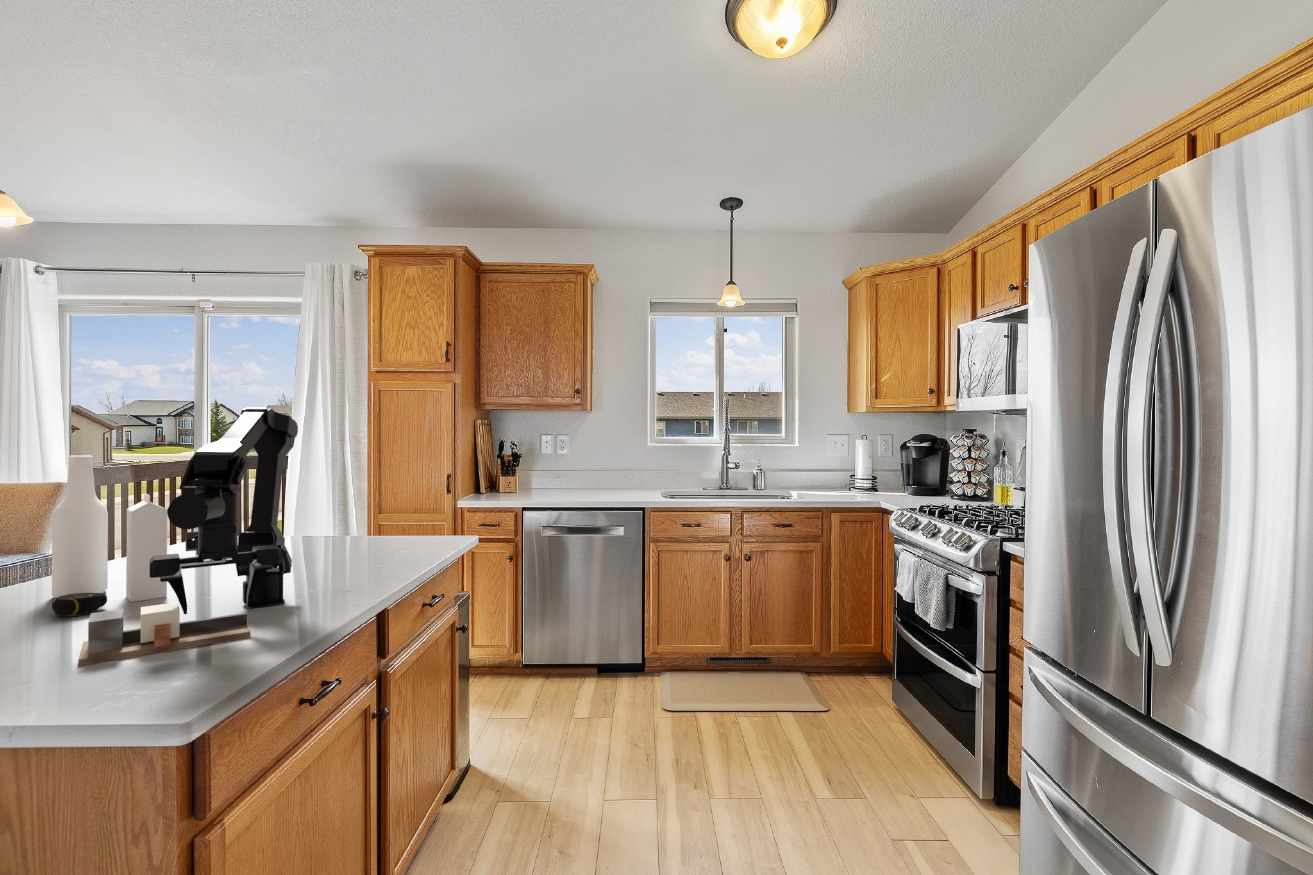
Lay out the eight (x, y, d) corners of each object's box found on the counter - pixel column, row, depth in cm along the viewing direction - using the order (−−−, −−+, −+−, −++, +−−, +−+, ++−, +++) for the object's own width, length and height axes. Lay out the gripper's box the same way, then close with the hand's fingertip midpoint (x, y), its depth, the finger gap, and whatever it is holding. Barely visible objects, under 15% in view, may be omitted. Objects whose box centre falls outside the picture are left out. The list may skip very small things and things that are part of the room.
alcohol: (97, 587, 139) (98, 454, 139) (114, 593, 135) (115, 455, 134) (44, 596, 131) (45, 455, 131) (60, 602, 127) (61, 456, 127)
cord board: (243, 622, 116) (243, 590, 116) (250, 637, 108) (250, 602, 108) (83, 647, 102) (83, 611, 102) (78, 666, 94) (78, 626, 94)
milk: (130, 602, 128) (130, 496, 128) (126, 596, 132) (125, 493, 132) (167, 596, 133) (167, 494, 132) (162, 591, 137) (161, 491, 136)
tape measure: (109, 608, 124) (109, 590, 124) (84, 618, 117) (84, 599, 117) (70, 610, 123) (70, 591, 123) (42, 620, 116) (42, 600, 116)
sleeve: (178, 628, 108) (178, 602, 108) (179, 636, 104) (179, 609, 103) (140, 634, 105) (140, 607, 104) (140, 642, 100) (140, 614, 100)
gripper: (272, 511, 121) (272, 591, 121) (149, 519, 109) (148, 607, 109) (282, 518, 112) (281, 603, 113) (149, 527, 101) (149, 623, 101)
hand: (217, 608), depth 109 cm, fingers open, 9 cm apart
